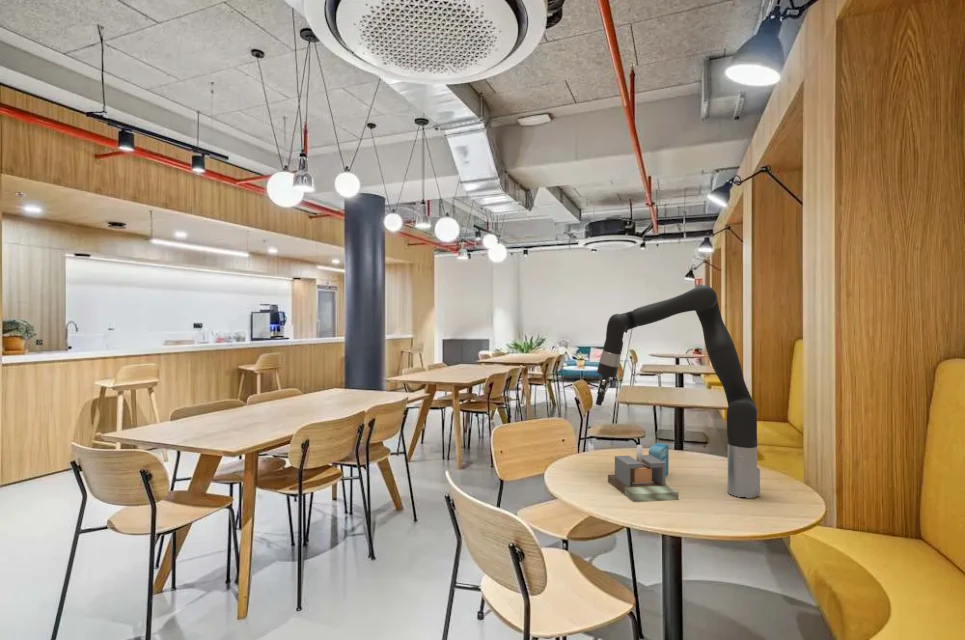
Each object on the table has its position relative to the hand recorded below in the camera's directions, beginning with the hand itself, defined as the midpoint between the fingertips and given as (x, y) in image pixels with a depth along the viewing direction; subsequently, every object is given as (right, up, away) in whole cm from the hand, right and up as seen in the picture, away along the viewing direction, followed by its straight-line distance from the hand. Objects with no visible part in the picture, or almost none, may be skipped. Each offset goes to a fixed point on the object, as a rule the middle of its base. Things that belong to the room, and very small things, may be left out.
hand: (599, 403), depth 198 cm
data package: (+22, -28, -3) cm, 36 cm away
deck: (+10, -28, -19) cm, 35 cm away
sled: (+10, -25, -18) cm, 33 cm away
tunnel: (+10, -25, -18) cm, 33 cm away
